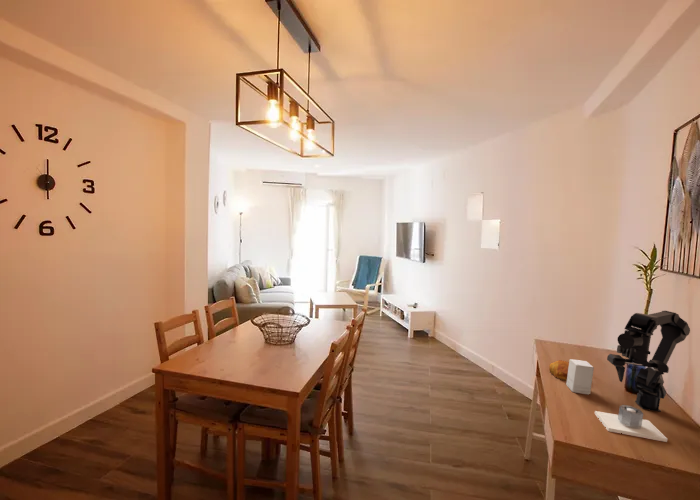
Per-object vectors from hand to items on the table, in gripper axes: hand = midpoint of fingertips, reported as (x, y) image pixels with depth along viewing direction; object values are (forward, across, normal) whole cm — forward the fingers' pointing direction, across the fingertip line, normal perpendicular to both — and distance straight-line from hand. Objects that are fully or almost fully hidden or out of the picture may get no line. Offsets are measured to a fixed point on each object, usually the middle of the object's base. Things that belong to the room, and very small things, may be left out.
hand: (633, 383), depth 142 cm
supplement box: (+12, +14, -14) cm, 23 cm away
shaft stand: (+12, +6, +13) cm, 19 cm away
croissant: (+12, +15, -28) cm, 34 cm away
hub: (+10, +6, +13) cm, 18 cm away
